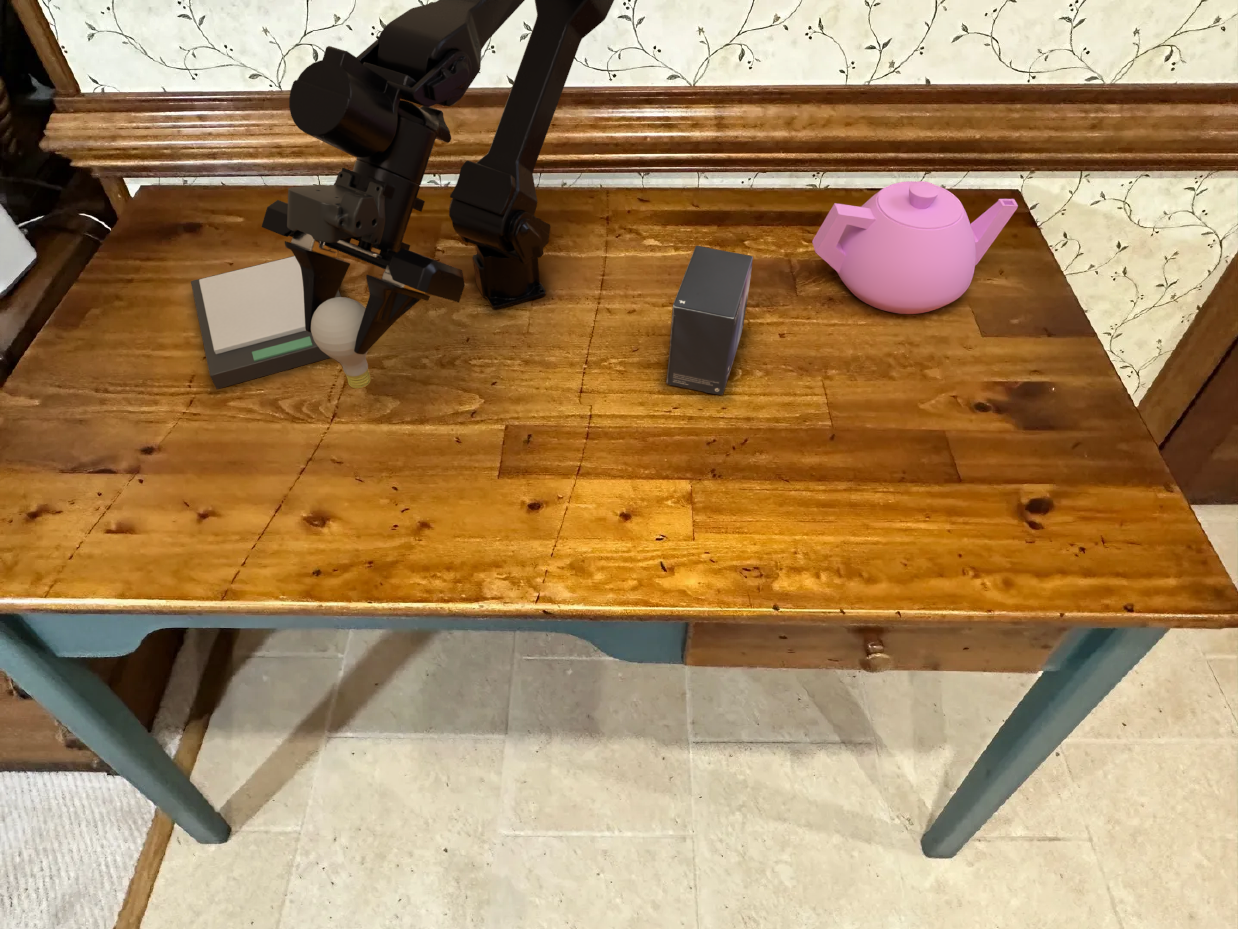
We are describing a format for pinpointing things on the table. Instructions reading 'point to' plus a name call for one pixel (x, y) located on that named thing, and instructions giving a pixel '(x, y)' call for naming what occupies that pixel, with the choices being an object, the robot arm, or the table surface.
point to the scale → (254, 322)
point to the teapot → (908, 246)
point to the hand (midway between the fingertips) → (334, 342)
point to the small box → (708, 319)
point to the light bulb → (341, 337)
